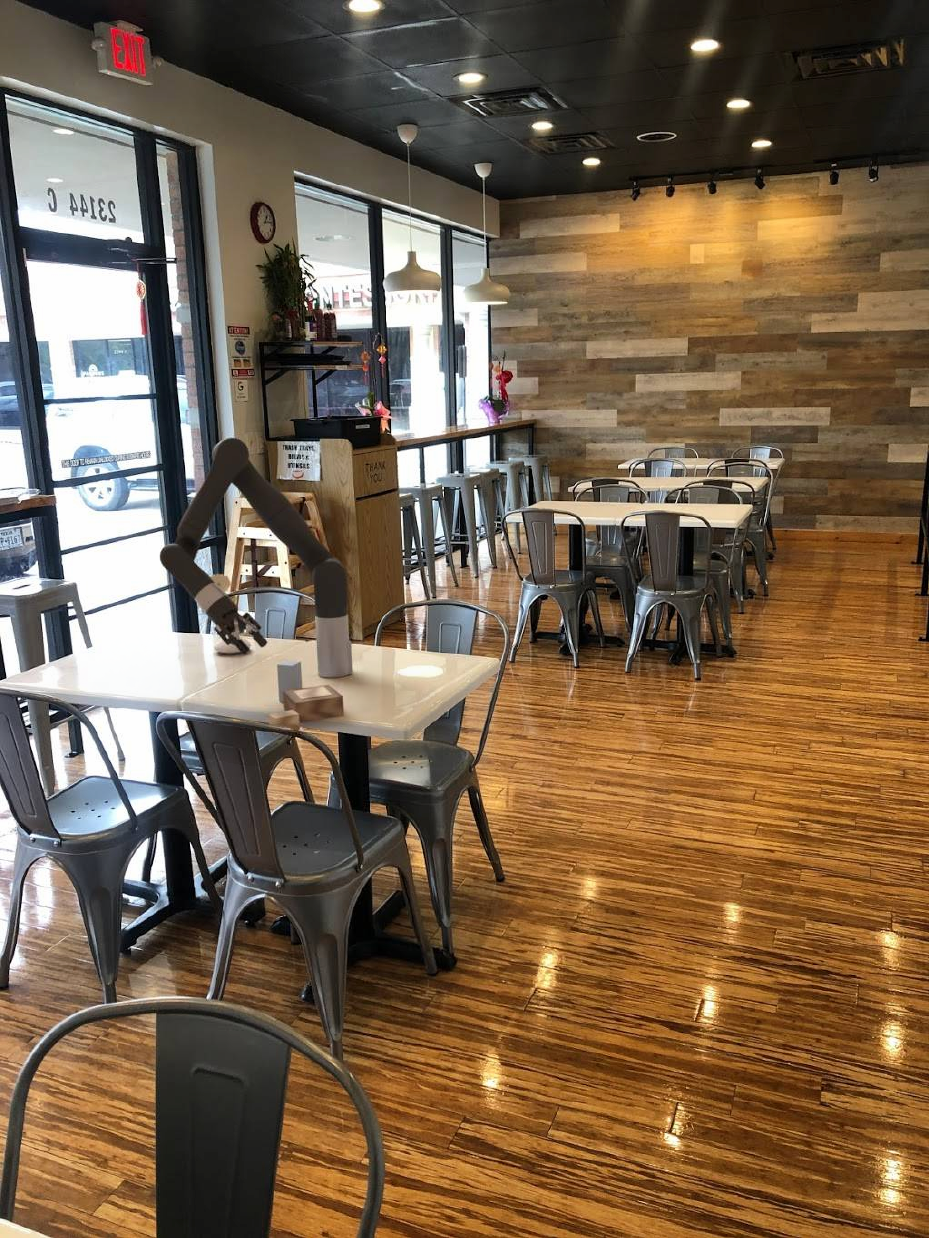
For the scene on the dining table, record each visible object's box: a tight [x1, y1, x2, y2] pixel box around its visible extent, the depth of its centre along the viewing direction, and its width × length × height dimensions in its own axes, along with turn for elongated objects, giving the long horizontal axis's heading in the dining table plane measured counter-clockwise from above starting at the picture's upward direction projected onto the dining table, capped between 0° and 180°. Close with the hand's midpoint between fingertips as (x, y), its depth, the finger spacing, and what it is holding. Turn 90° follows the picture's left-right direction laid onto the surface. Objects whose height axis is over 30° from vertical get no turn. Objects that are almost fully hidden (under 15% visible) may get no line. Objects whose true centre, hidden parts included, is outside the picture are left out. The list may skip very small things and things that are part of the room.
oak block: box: [268, 710, 301, 735], centre depth 250 cm, size 6×4×4 cm, turn 122°
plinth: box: [283, 684, 345, 723], centre depth 263 cm, size 12×12×5 cm
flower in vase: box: [210, 573, 252, 654], centre depth 327 cm, size 13×11×25 cm
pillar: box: [276, 660, 303, 703], centre depth 274 cm, size 4×4×10 cm
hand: (256, 648), depth 276 cm, fingers open, 8 cm apart
